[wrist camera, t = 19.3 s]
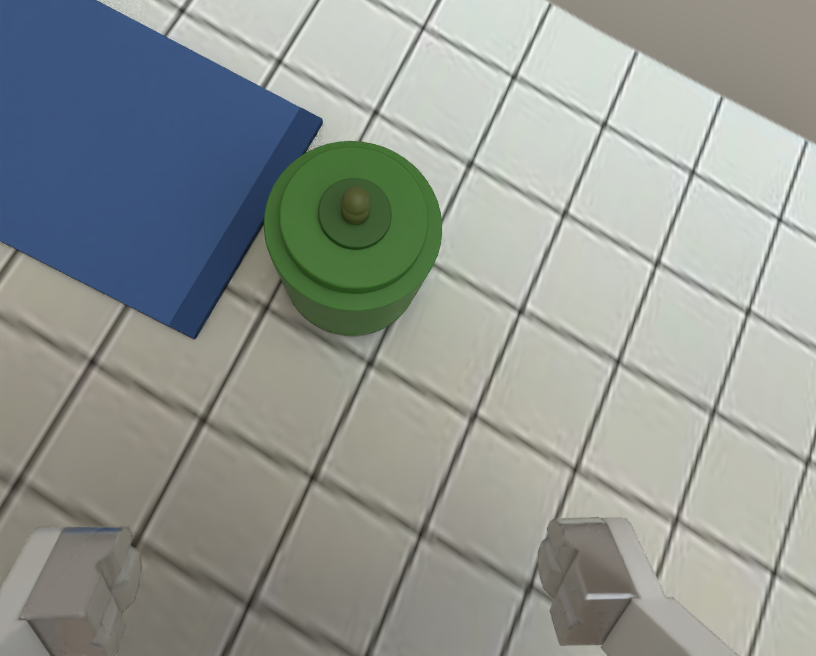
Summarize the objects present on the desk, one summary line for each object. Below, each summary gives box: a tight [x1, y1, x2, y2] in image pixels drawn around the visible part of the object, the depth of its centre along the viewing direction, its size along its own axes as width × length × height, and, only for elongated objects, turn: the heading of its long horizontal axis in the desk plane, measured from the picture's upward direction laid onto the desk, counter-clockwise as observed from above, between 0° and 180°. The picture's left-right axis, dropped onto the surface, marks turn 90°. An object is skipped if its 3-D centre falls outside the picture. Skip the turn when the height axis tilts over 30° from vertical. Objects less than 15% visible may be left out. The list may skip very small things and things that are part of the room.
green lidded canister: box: [264, 141, 442, 336], centre depth 21 cm, size 6×6×9 cm
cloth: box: [0, 0, 323, 339], centre depth 24 cm, size 20×12×1 cm, turn 64°
